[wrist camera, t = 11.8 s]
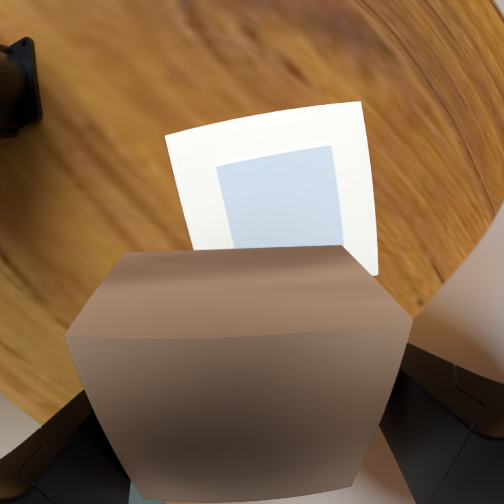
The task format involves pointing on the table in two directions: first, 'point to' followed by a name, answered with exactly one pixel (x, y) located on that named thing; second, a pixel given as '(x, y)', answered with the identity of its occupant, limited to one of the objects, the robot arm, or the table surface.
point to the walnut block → (239, 369)
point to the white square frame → (279, 181)
